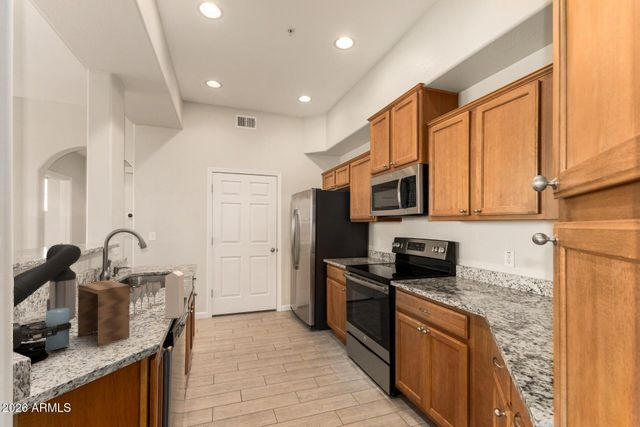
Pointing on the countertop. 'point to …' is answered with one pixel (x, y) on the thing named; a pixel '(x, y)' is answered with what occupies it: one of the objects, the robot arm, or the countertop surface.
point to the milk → (174, 294)
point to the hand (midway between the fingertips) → (66, 323)
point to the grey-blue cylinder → (57, 318)
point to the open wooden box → (104, 310)
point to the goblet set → (140, 292)
